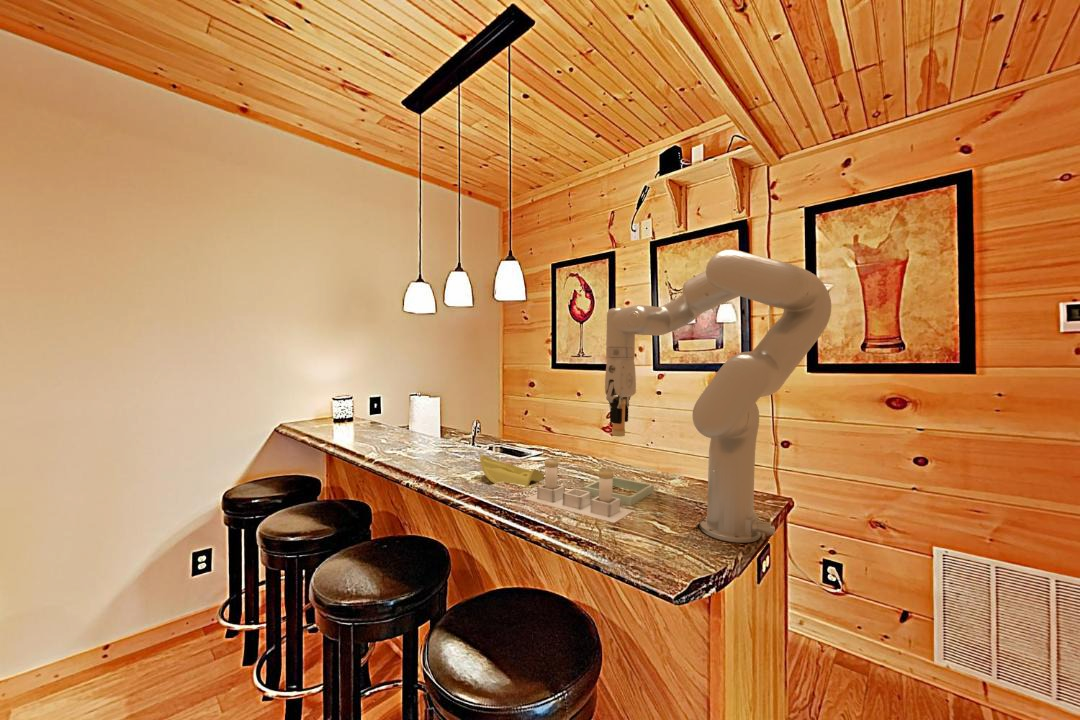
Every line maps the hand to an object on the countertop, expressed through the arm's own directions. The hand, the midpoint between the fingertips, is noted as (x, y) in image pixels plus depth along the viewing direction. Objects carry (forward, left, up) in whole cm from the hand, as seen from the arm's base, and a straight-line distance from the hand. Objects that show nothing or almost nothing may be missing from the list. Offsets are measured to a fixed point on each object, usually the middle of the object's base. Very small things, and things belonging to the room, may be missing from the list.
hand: (619, 421), depth 125 cm
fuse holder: (+4, +14, -21) cm, 26 cm away
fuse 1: (+12, +14, -20) cm, 27 cm away
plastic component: (+33, +6, -22) cm, 40 cm away
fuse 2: (-4, +14, -20) cm, 25 cm away
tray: (0, -1, -21) cm, 21 cm away
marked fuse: (0, 0, -4) cm, 4 cm away
